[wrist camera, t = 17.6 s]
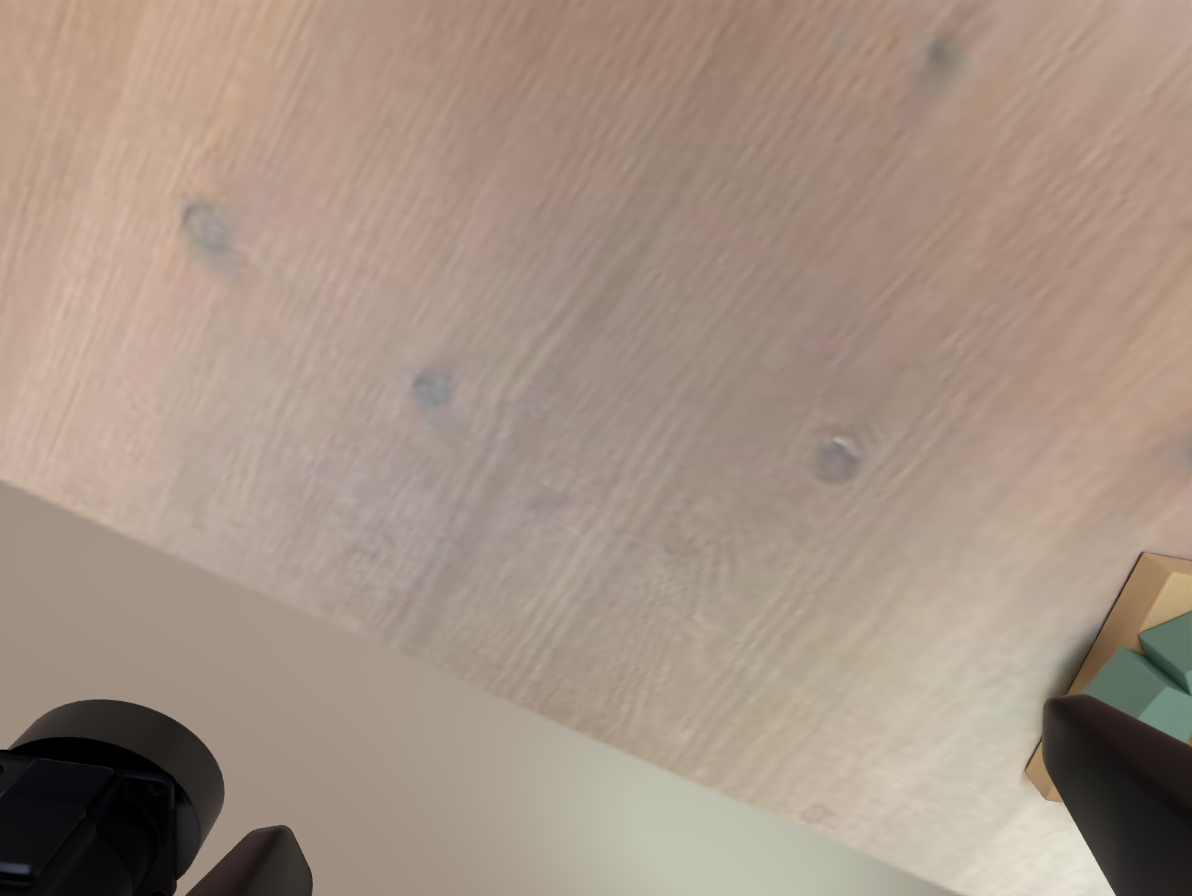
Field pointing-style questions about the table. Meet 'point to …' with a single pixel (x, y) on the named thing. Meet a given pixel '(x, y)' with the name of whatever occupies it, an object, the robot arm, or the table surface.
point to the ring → (1152, 679)
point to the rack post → (1128, 631)
